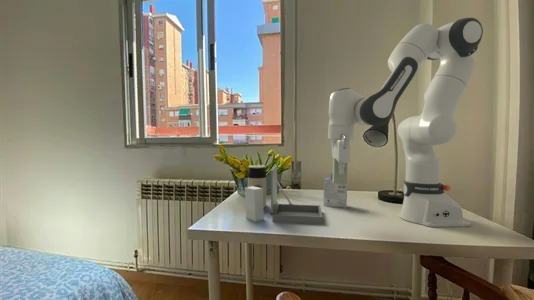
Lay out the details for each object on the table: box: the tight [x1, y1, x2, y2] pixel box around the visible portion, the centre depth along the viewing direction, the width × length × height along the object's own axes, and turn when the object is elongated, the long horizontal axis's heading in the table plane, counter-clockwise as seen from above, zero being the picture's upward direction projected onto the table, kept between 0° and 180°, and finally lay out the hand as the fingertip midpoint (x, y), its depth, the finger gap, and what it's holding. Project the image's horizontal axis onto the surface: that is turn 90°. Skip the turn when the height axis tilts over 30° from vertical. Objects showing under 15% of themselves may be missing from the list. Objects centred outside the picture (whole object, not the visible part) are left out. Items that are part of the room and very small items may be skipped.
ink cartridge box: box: [323, 172, 348, 209], centre depth 121 cm, size 10×6×14 cm, turn 75°
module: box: [332, 157, 348, 185], centre depth 98 cm, size 4×4×10 cm
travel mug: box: [247, 164, 267, 208], centre depth 119 cm, size 8×8×18 cm
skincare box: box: [244, 186, 265, 222], centre depth 101 cm, size 6×4×12 cm
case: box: [270, 164, 324, 225], centre depth 104 cm, size 18×17×19 cm
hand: (339, 172), depth 98 cm, fingers closed on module, 4 cm apart
